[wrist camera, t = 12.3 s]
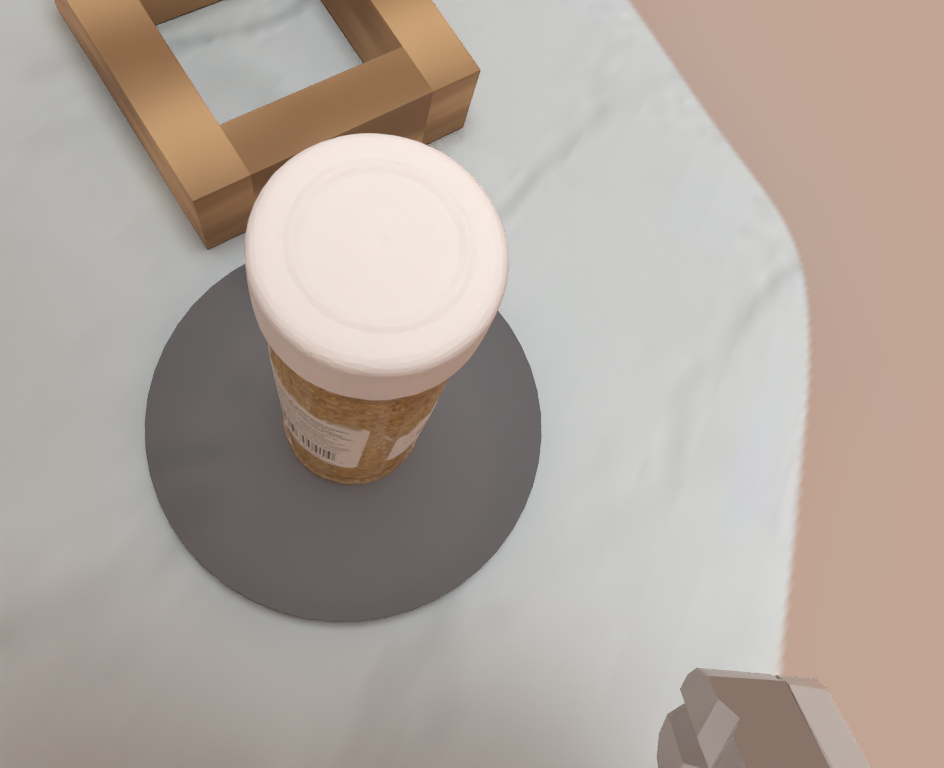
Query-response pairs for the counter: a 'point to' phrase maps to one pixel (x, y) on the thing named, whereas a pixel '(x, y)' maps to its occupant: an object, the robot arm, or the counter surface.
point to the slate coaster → (328, 502)
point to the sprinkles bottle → (370, 294)
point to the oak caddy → (283, 121)
